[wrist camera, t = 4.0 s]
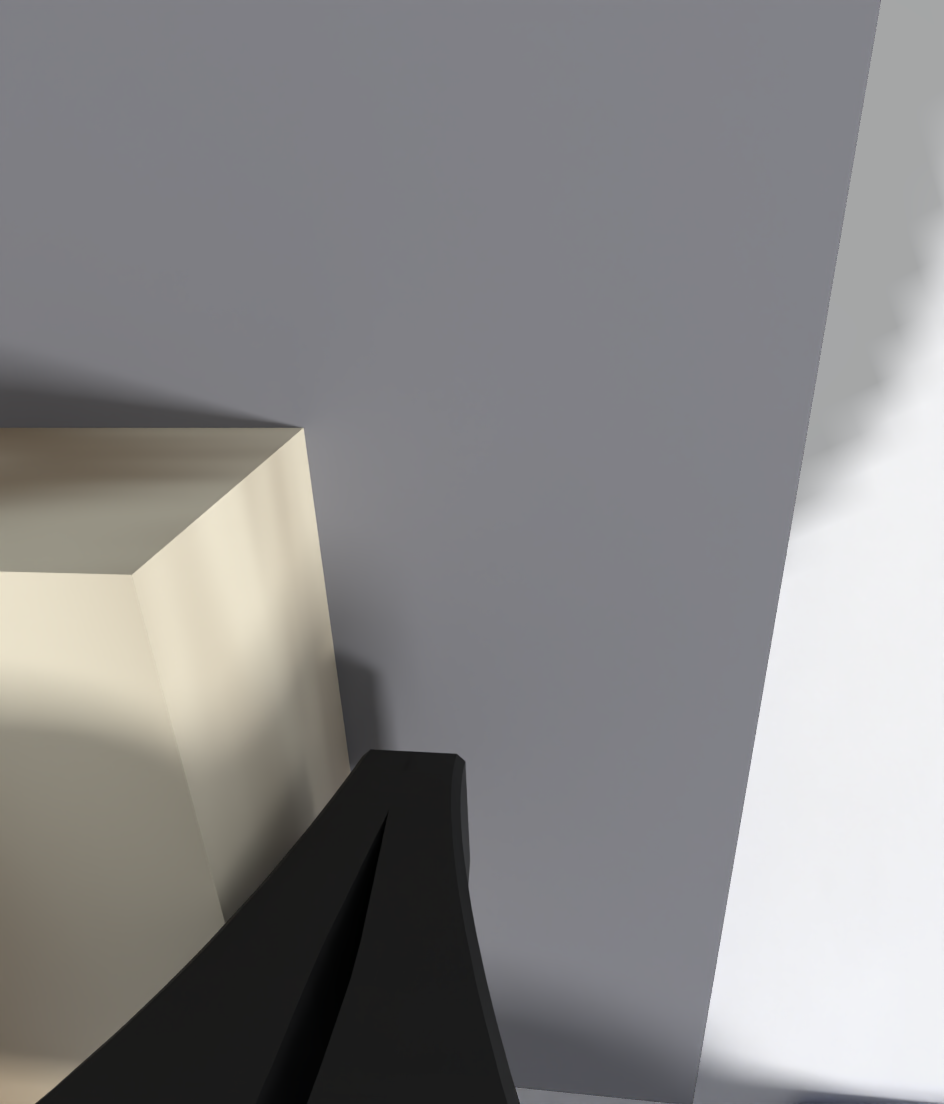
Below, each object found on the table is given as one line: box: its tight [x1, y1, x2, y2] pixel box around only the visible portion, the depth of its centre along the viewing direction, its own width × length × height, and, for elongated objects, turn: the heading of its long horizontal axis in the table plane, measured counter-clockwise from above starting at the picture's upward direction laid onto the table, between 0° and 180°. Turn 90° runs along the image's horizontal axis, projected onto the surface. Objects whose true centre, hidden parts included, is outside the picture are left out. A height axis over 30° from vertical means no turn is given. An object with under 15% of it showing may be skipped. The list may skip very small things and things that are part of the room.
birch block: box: [0, 428, 351, 1104], centre depth 10 cm, size 8×10×4 cm
